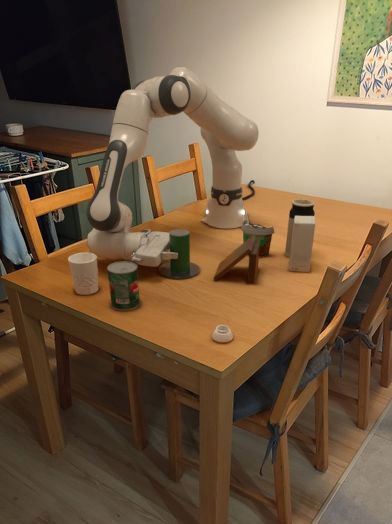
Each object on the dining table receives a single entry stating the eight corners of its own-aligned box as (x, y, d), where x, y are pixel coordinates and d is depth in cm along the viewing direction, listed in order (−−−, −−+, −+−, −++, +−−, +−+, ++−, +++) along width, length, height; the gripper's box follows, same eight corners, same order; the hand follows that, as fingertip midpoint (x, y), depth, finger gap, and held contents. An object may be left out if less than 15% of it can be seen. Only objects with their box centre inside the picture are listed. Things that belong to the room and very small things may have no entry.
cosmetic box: (309, 273, 146) (316, 224, 137) (287, 271, 147) (293, 222, 138) (309, 262, 152) (316, 215, 144) (289, 261, 154) (294, 214, 145)
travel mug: (298, 261, 153) (305, 206, 143) (280, 254, 158) (285, 201, 148) (313, 255, 158) (321, 202, 148) (294, 249, 163) (301, 196, 153)
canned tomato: (108, 300, 130) (103, 263, 124) (135, 295, 132) (132, 259, 126) (115, 313, 124) (111, 275, 118) (143, 307, 126) (141, 270, 120)
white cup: (90, 281, 140) (86, 250, 135) (106, 290, 135) (102, 257, 130) (68, 289, 136) (62, 257, 130) (82, 298, 131) (77, 265, 125)
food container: (232, 251, 160) (233, 223, 155) (243, 247, 164) (245, 219, 159) (261, 261, 153) (263, 231, 148) (272, 256, 157) (274, 227, 152)
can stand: (219, 265, 151) (220, 232, 145) (258, 268, 148) (260, 235, 142) (213, 280, 141) (213, 245, 135) (254, 284, 139) (256, 249, 133)
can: (182, 274, 151) (154, 245, 147) (210, 249, 144) (181, 219, 141) (178, 282, 146) (149, 252, 142) (206, 257, 139) (176, 225, 136)
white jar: (207, 338, 113) (223, 346, 110) (208, 328, 112) (224, 335, 109) (220, 330, 116) (236, 337, 113) (221, 320, 115) (237, 327, 112)
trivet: (164, 261, 153) (164, 259, 153) (203, 264, 151) (203, 262, 151) (153, 277, 143) (153, 275, 143) (194, 281, 141) (194, 279, 140)
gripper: (126, 249, 135) (172, 253, 133) (147, 227, 152) (188, 230, 150) (128, 269, 139) (172, 273, 136) (148, 245, 156) (188, 248, 153)
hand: (181, 250), depth 143 cm, fingers closed on can, 6 cm apart
